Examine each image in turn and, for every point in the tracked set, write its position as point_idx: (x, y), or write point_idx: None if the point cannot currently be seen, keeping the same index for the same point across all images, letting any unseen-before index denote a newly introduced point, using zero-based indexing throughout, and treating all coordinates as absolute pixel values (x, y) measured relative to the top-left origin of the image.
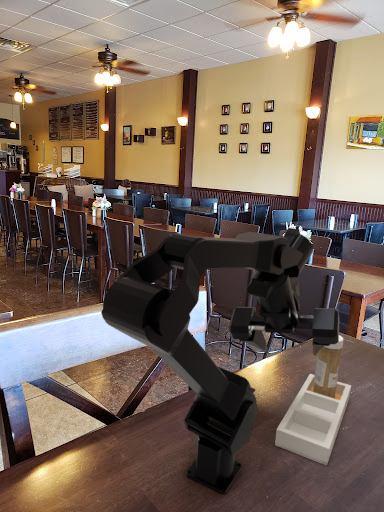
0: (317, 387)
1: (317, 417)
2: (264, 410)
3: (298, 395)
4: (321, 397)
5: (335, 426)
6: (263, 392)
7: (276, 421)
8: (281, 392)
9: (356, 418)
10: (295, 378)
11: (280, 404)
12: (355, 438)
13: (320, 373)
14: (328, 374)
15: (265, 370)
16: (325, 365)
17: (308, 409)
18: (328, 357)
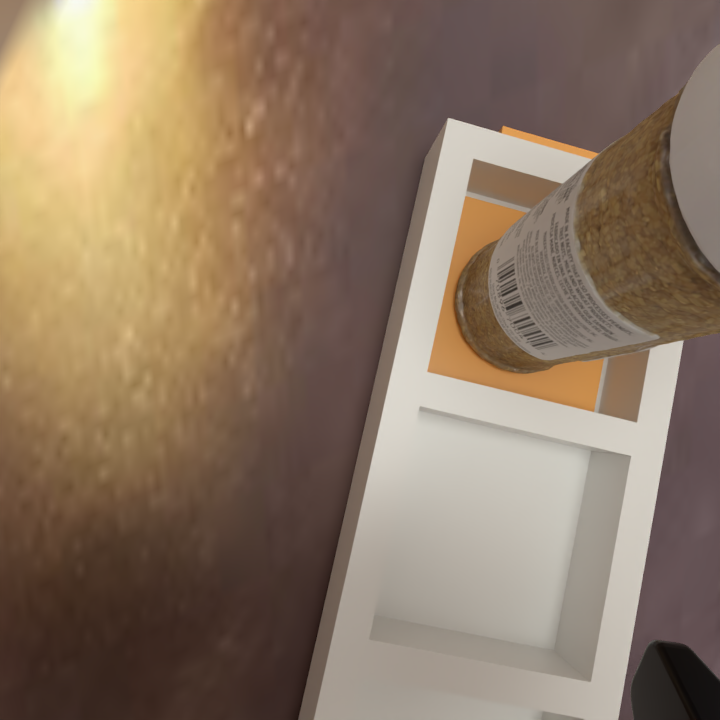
0: (504, 339)
1: (502, 700)
2: (172, 557)
3: (377, 471)
4: (524, 429)
5: None
6: (145, 344)
7: (253, 644)
8: (261, 299)
9: (677, 420)
10: (341, 83)
11: (264, 447)
12: (663, 616)
13: (562, 338)
14: (628, 349)
15: (131, 38)
16: (639, 339)
17: (432, 469)
18: (715, 325)
